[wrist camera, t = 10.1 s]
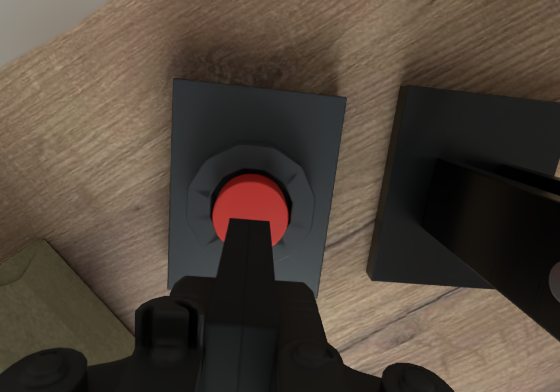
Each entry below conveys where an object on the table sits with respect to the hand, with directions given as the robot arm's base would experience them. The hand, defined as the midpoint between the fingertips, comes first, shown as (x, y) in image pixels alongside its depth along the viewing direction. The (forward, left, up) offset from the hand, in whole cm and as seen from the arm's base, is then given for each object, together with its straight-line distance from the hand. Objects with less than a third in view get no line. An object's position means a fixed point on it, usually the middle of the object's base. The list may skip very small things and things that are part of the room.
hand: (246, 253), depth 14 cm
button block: (0, 0, -9) cm, 9 cm away
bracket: (-1, +13, -9) cm, 16 cm away
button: (0, 0, -5) cm, 5 cm away
